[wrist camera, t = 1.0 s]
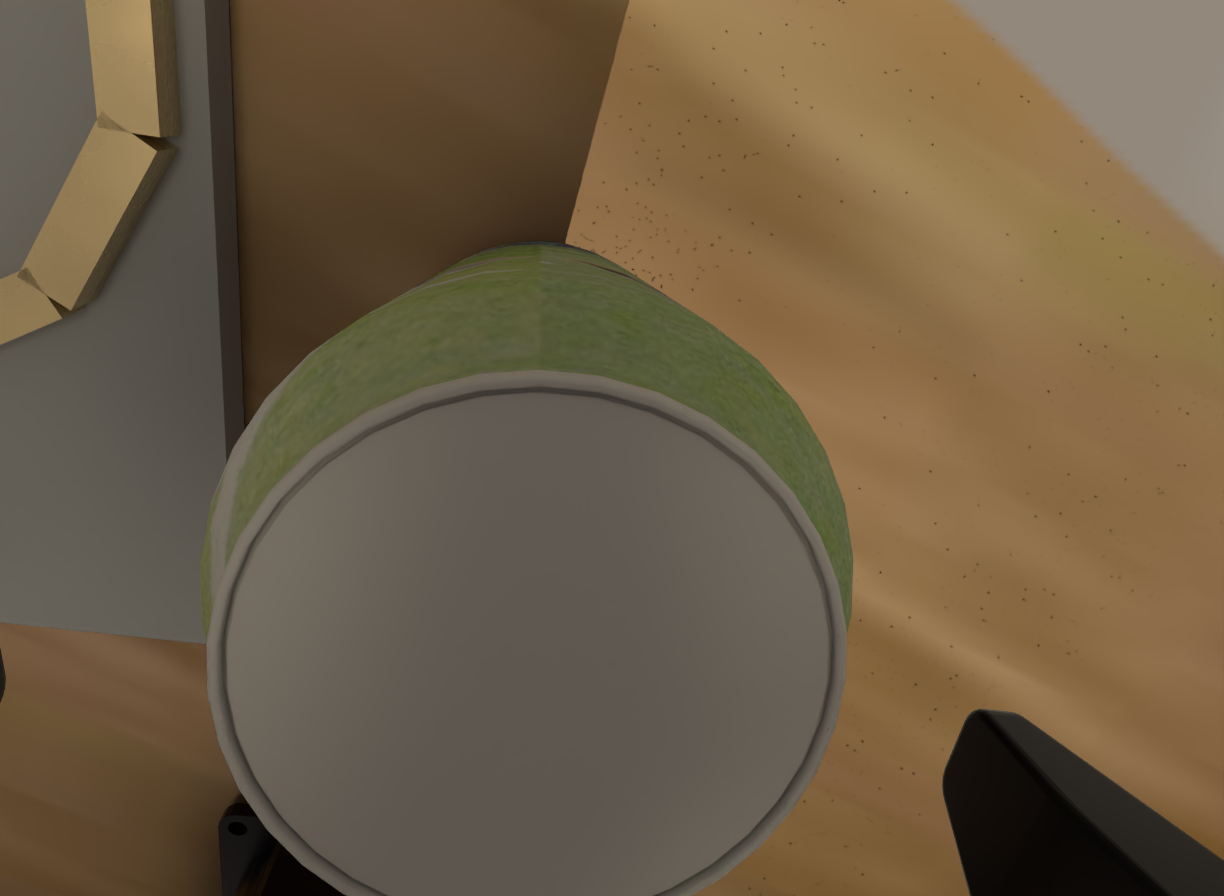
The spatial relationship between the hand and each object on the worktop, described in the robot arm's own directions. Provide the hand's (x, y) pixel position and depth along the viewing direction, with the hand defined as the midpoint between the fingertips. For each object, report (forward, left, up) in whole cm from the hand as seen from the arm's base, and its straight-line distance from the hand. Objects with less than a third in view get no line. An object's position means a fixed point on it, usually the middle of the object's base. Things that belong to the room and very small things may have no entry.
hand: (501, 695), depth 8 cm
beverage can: (0, 0, -11) cm, 11 cm away
